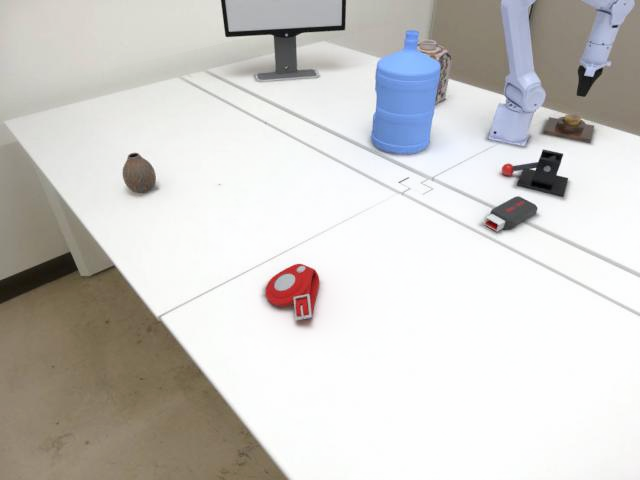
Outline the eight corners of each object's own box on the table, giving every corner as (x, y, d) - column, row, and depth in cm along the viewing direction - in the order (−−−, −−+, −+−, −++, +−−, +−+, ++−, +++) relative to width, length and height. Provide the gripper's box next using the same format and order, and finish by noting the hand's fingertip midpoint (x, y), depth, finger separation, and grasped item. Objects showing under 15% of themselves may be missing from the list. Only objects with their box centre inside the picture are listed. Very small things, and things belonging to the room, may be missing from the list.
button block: (542, 134, 127) (545, 123, 125) (547, 120, 134) (551, 111, 132) (589, 143, 123) (593, 133, 121) (592, 129, 129) (596, 119, 127)
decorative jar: (395, 100, 146) (401, 41, 135) (414, 90, 153) (421, 33, 142) (427, 110, 140) (437, 49, 129) (446, 99, 147) (456, 40, 136)
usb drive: (535, 214, 97) (539, 203, 95) (500, 235, 91) (504, 224, 90) (514, 203, 100) (518, 192, 99) (479, 222, 95) (482, 211, 93)
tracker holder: (251, 291, 78) (289, 252, 82) (262, 307, 80) (298, 269, 85) (300, 316, 70) (339, 271, 74) (310, 333, 72) (347, 289, 77)
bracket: (516, 186, 106) (525, 158, 101) (522, 171, 111) (531, 143, 107) (562, 197, 102) (573, 169, 97) (566, 181, 107) (577, 153, 103)
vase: (164, 184, 107) (156, 150, 101) (146, 199, 102) (136, 164, 96) (139, 179, 109) (130, 145, 103) (121, 194, 104) (109, 159, 98)
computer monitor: (231, 83, 159) (214, -52, 134) (230, 75, 165) (213, -56, 140) (345, 75, 165) (349, -56, 140) (339, 67, 171) (343, -59, 146)
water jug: (441, 146, 121) (461, 34, 104) (395, 161, 115) (408, 45, 98) (403, 125, 132) (415, 20, 114) (359, 138, 125) (365, 29, 108)
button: (562, 124, 126) (564, 118, 125) (564, 119, 129) (566, 113, 128) (578, 127, 124) (580, 121, 123) (579, 121, 127) (581, 115, 126)
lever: (501, 178, 109) (499, 167, 108) (504, 173, 111) (501, 162, 110) (556, 170, 102) (553, 159, 101) (557, 165, 104) (555, 153, 103)
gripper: (617, 52, 107) (595, 107, 115) (619, 37, 117) (599, 89, 125) (584, 47, 109) (565, 102, 118) (589, 33, 119) (571, 85, 128)
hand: (580, 95), depth 122 cm, fingers closed
